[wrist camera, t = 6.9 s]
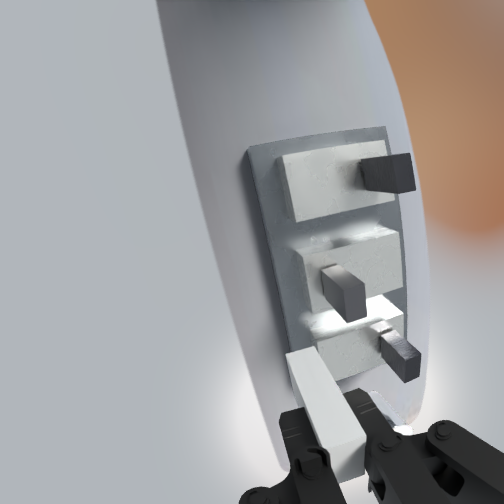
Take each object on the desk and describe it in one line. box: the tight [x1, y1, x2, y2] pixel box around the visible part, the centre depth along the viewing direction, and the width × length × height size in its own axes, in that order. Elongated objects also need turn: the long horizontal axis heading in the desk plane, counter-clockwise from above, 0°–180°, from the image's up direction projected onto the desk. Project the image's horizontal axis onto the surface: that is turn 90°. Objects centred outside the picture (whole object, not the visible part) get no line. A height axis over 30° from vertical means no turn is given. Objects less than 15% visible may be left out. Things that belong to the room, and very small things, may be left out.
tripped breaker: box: [321, 265, 367, 324], centre depth 22 cm, size 3×2×5 cm, turn 13°
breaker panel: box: [247, 126, 421, 383], centre depth 25 cm, size 24×13×10 cm, turn 13°
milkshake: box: [367, 390, 413, 435], centre depth 29 cm, size 4×5×10 cm
